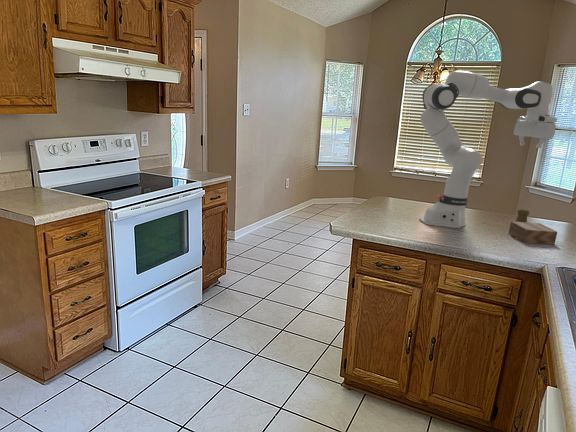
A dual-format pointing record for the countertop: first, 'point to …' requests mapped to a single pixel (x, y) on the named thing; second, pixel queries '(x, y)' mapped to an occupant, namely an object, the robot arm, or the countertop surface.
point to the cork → (522, 215)
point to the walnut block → (532, 232)
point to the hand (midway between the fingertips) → (530, 146)
